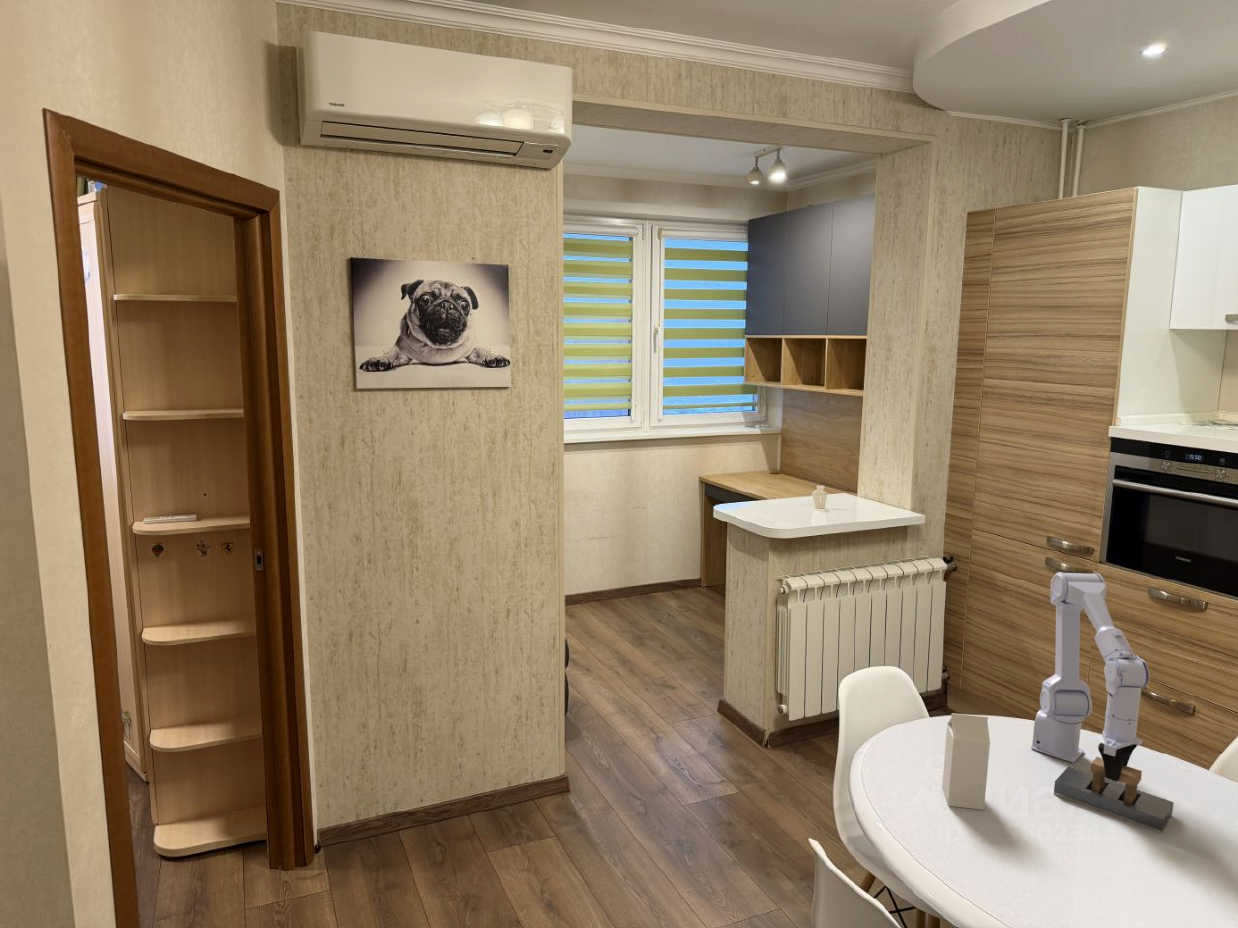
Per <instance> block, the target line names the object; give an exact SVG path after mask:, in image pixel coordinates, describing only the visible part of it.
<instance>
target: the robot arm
mask: <svg viewBox="0 0 1238 928" xmlns="http://www.w3.org/2000/svg"><path fill="white" fill-rule="evenodd" d="M1106 596H1107V584H1106V580H1105V579H1104V576H1102V574H1100V573H1096V572H1095V573H1081V572H1080V573H1079V572H1078V573H1077V572H1076V573H1074V572H1063V571H1059V572H1056V573H1055V574H1054V575H1053V576H1052V578H1051V580H1050V604H1051V605H1053V606H1054V607H1055V654H1054V655H1055V660H1054V661H1055V662H1054V664H1055V666H1054V669H1055V670H1054V674H1053V675H1051V676H1050V677H1048V678H1046V679H1045V680H1043V681H1042V685H1041V692H1040V694H1039V704H1040V708H1041V709H1039V710H1038V711H1037V713H1036V715H1035V719H1034V724H1033V725H1034V726H1033V736H1032V745H1031V747H1030V749H1031V750H1033V751H1037V752H1040V753H1043V754H1046V755H1048V756H1051V757H1055V758H1057V759H1060V760H1064V761H1067V762H1070V763H1076V761H1077V760H1078V759H1079V758H1080V757H1081V755H1083V753H1084V751H1085V750H1084V749H1082V748H1079V745H1080V737H1081V730H1082V729H1081V728H1082V722H1085V721H1086V718H1087V717H1089V716H1090V715H1091V713H1092V711H1093V700H1092V698H1091V687H1090V686H1089V685H1088V684H1087V683H1086V682H1085V681H1083V680H1082V679H1080V653H1081V649H1080V648H1081V647H1080V646H1081V641H1080V638H1081V635H1080V634H1081V631H1080V630H1081V612H1082V611H1084V613H1085V614H1086V616H1087V618H1088V619H1089V621H1090V622H1091V625H1092V626H1093V627H1094V630H1095V631H1096V634H1095V636H1094V641H1095V644H1096V646H1097V648H1098V650H1099V652H1100V654H1101V657H1102V659H1103V661H1104V664H1105V666H1104V668H1103V671H1104V678H1105V688H1106V689H1105V690H1106V691H1107V697H1106V699H1107V701H1106V706H1105V707H1106V708H1105V709H1106V710H1105V715H1104V726H1103V727H1104V728H1103V729H1102V737H1103V741H1104V743H1103V742H1100V743H1099V744H1098V746H1097V749H1098V752H1099V754H1100V756H1101V758H1102V759H1103V763H1104V769H1105V775H1106V777H1105V779H1107V780H1110V781H1113V782H1116V783H1118V782H1119V781H1118V779H1119V777H1120V775H1121V771H1122V768H1123V765H1125V766H1128V763H1129V761H1130V758H1131V757H1132V756H1131V755H1132V754H1133V751H1134V750H1135V749H1136V748H1137V747H1138V746H1141V745H1142V744H1143V739H1142V738H1139V737H1137V729H1138V720H1139V712H1140V705H1141V697H1142V696H1141V695H1142V688H1146V687H1147V686H1148V684H1149V682H1150V677H1151V676H1150V670H1149V667H1148V664H1147V662H1146V660H1144V659H1143V658H1140V656H1139V655H1138V654H1135V653H1134V651H1133V649H1132V647H1131V645H1130V643H1129V641H1128V639H1127V637H1126V635H1125V633H1124V632H1123V630H1121V629H1119V628H1117V627H1115V625H1114V621H1113V619H1112V616H1111V614H1110V611H1109V609H1108V606H1107V602H1106Z"/></svg>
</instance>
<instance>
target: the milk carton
mask: <svg viewBox="0 0 1238 928" xmlns="http://www.w3.org/2000/svg"><path fill="white" fill-rule="evenodd" d="M950 716H951V718H950V719H949V720H948V722H947V725H946V736H945V746H944V747H945V748H944V759H943V760H944V761H943V771H942V772H943V774H942V785H941V788H942V791H943V795H944V797H945V800H946V804H947V806H950V807H958V808H965V809H972V810H973V809H974V810H985V803H986V802H985V801H986V791H987V780H988V768H989V758H990V757H989V756H990V746H991V740H990V731H989V725H988V723H989V722H988V721H989V719H988V716H982V715H972V714H962V713H954V712H953V713H951V715H950Z"/></svg>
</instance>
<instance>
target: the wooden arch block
mask: <svg viewBox="0 0 1238 928" xmlns="http://www.w3.org/2000/svg"><path fill="white" fill-rule="evenodd" d="M1090 773H1091V774H1092V775H1093V780H1092V790H1091V791H1094V792H1097V793H1100V794H1101V793H1102V792H1103V791H1104V783H1105V779H1106V775H1105V769H1104V763H1103V759H1102V757H1099V756H1096V757H1095V758H1094V760H1092V762H1091V766H1090ZM1142 773H1143V770H1140V769H1137V768H1134V767H1131V766H1128V765H1127V766H1125V765H1123V768H1122V771H1121V775H1120V777H1119V779H1118V781H1117V782H1118V783H1119V782H1120V783H1122V784H1124V786H1125V793H1124V802H1125V803H1128V804H1131V805H1134V803H1135V802H1136V794H1137V790H1138V785H1139V784H1140V782H1141V780H1142Z"/></svg>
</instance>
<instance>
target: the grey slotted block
mask: <svg viewBox="0 0 1238 928" xmlns="http://www.w3.org/2000/svg"><path fill="white" fill-rule="evenodd" d="M1092 780H1093V773H1090V772H1089V773H1088V772H1085V771H1082V770H1080V769H1077V768H1074V767H1071V766H1067V767H1066V768H1065V769H1064V770H1063V772H1061V774H1060V775H1059V776H1058V777H1057V778H1056V779H1055V781H1054V787H1053V795H1055V796H1058V797H1061V798H1063V799H1066V800H1069V801H1071V802H1074V803H1077V804H1080V805H1083V806H1085V807H1088V808H1091V809H1094V810H1096V811H1099V812H1102V813H1104V814H1107V815H1110V816H1111V817H1112V816H1113V817H1116V818H1118V819H1120V820H1124V821H1126V822H1129V823H1132V824H1134V825H1138V826H1139V827H1143V828H1146V829H1149V830H1152V831H1153V832H1154V831H1155V832H1157V833H1160V834H1163V832H1164V831H1165V828H1166V827H1167V825H1168V824H1169V822H1170V820H1171V818H1172V817H1173V811H1174V809H1173V808H1174V804H1175V802H1174V801H1171V800H1168V799H1166V798H1163V797H1160V796H1156V795H1155V794H1154V795H1153V794H1150V793H1147V792H1144V791H1142V790H1139V789H1137V794H1136V802H1135V803H1134V805H1131V804H1128V803H1125V802H1124V793H1125V784H1121V783H1119V782H1115V781H1112V780H1109V779H1107V778H1105V783H1104V791H1103V792H1102V793H1101V794H1100V793H1097V792H1094V791H1091V790H1092Z"/></svg>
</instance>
